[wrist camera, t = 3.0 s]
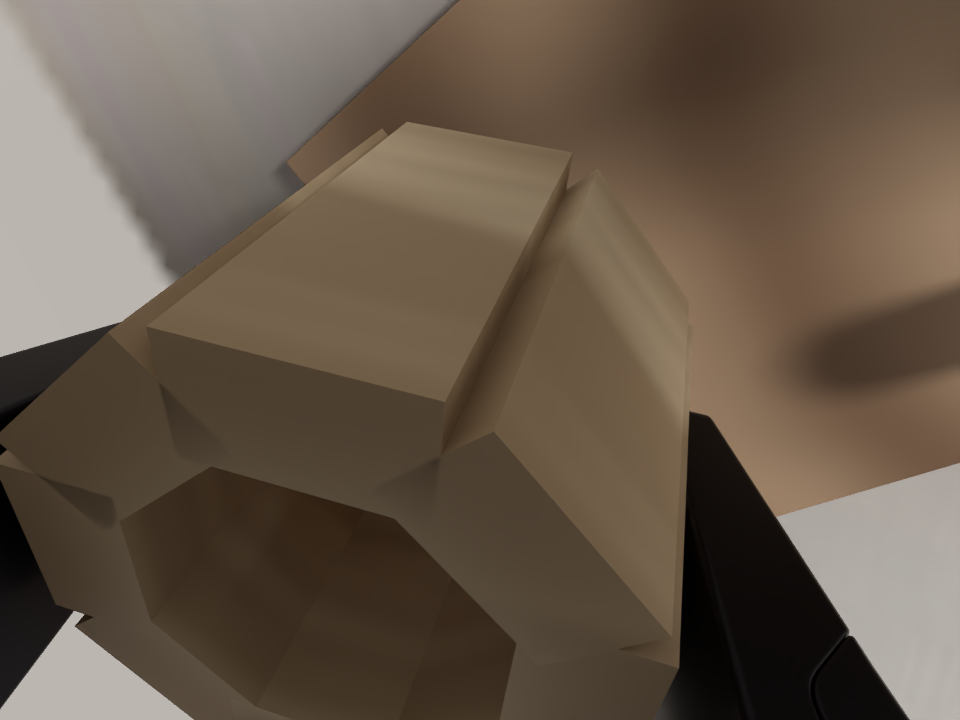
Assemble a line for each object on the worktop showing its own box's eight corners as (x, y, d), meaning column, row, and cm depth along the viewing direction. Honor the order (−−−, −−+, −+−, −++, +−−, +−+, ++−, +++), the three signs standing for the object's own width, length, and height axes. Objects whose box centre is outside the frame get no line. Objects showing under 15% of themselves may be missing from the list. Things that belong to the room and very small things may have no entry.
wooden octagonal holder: (499, 25, 8) (273, 176, 4) (763, 408, 9) (801, 786, 6) (209, 278, 11) (-80, 506, 7) (447, 529, 13) (328, 825, 9)
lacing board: (1244, -716, 8) (1341, -825, 7) (1470, 247, 12) (1554, 288, 11) (315, 142, 17) (285, 162, 16) (630, 522, 21) (625, 560, 20)
